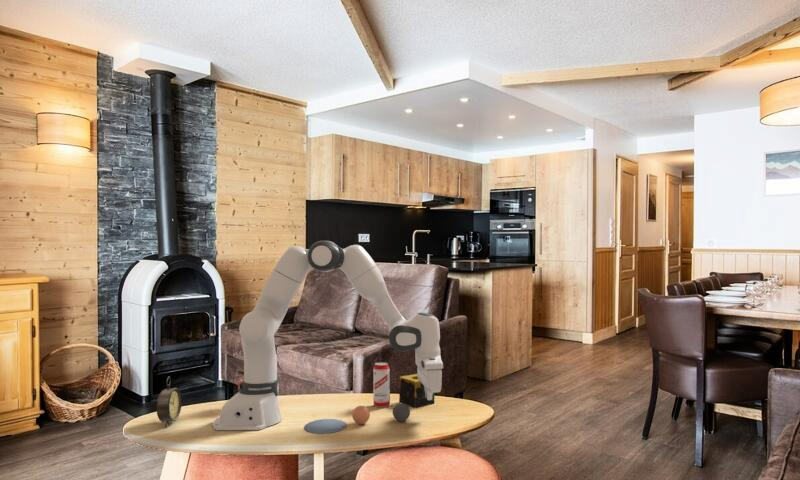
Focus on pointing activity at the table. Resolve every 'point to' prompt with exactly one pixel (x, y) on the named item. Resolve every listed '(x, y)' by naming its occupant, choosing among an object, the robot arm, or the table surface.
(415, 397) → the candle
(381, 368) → the beer can
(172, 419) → the alarm clock
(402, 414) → the gray ball
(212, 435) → the table surface
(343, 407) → the table surface
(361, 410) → the terracotta egg
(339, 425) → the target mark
